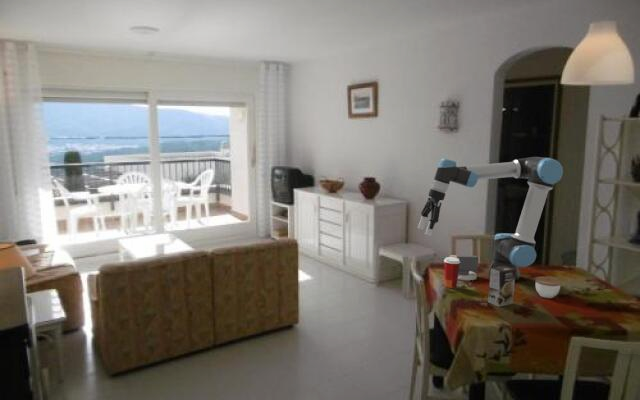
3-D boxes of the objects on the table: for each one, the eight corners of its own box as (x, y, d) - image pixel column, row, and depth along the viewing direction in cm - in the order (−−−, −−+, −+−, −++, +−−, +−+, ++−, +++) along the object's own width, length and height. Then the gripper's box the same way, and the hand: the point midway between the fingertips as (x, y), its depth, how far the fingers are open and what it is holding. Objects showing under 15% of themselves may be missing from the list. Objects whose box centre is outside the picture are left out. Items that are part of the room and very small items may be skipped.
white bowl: (536, 290, 219) (538, 271, 218) (561, 295, 213) (562, 276, 212) (531, 296, 210) (533, 277, 209) (557, 301, 204) (559, 282, 203)
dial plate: (480, 276, 239) (481, 272, 239) (470, 282, 228) (470, 279, 228) (455, 270, 248) (456, 267, 248) (444, 276, 237) (444, 273, 237)
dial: (474, 271, 241) (475, 254, 239) (478, 275, 235) (479, 257, 233) (448, 271, 241) (449, 254, 239) (451, 274, 235) (452, 257, 233)
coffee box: (499, 307, 197) (501, 271, 195) (487, 302, 203) (490, 267, 200) (513, 303, 201) (516, 269, 199) (501, 298, 207) (504, 265, 204)
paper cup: (457, 284, 226) (458, 257, 224) (460, 289, 219) (462, 261, 216) (441, 283, 227) (442, 256, 225) (443, 288, 219) (445, 260, 217)
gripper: (423, 185, 228) (410, 224, 231) (439, 191, 203) (423, 235, 206) (437, 189, 229) (424, 228, 231) (454, 196, 204) (438, 240, 207)
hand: (423, 232), depth 219 cm, fingers open, 13 cm apart
